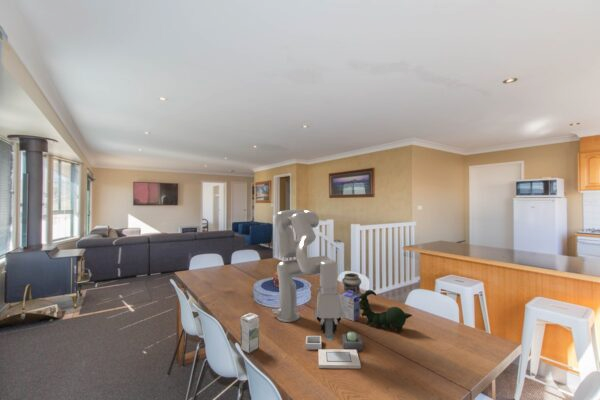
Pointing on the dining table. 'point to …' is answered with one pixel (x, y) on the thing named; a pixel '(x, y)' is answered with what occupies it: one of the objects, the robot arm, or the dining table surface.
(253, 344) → the syrup box
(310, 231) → the robot arm
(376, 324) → the toy figurine
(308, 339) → the marker holder
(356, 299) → the ink cartridge box
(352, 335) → the button
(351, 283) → the apothecary jar
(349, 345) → the button housing
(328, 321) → the marker
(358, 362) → the picture board
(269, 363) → the dining table surface
